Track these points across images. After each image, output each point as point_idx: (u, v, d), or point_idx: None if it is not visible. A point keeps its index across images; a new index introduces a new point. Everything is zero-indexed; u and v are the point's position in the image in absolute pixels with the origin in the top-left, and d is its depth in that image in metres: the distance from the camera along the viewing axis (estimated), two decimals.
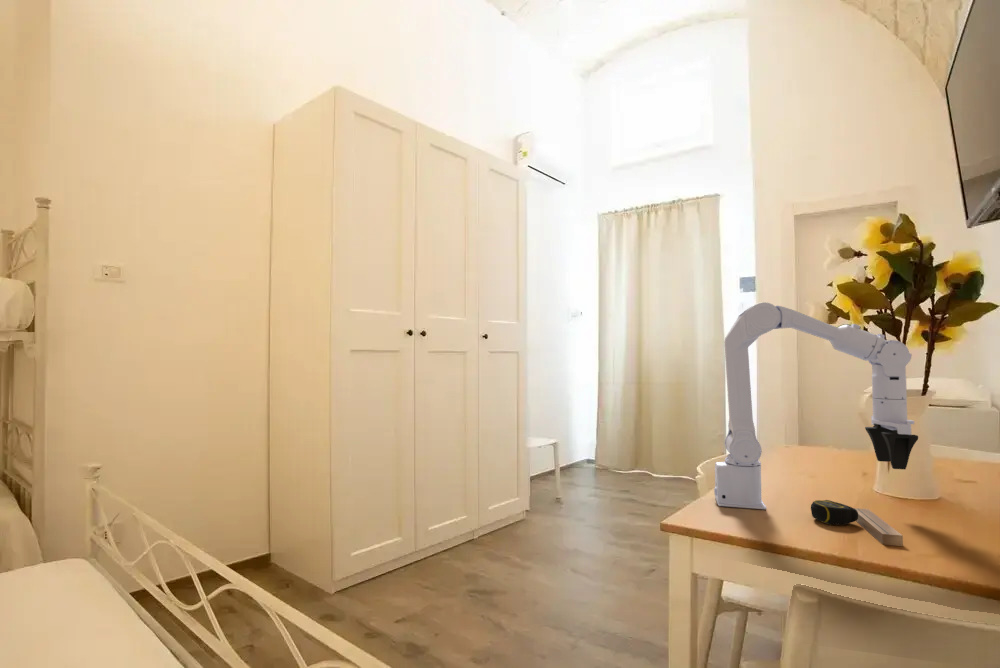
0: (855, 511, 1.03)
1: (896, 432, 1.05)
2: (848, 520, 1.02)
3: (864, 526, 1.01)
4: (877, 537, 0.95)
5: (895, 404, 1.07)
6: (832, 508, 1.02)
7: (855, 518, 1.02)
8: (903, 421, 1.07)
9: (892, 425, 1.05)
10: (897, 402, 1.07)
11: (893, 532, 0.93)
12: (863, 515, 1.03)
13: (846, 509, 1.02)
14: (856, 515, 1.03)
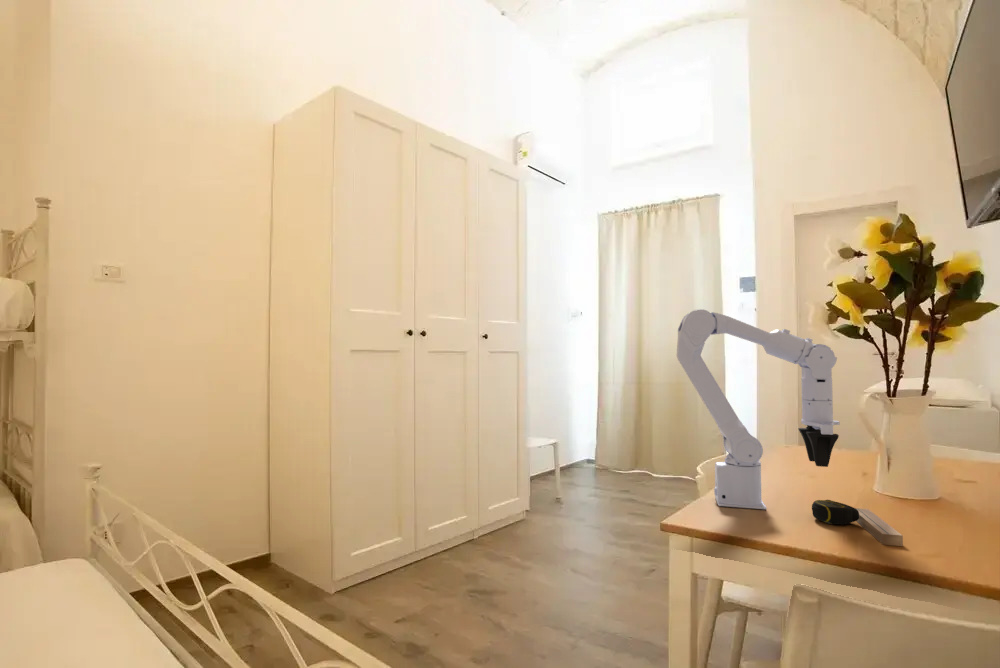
0: (856, 511, 1.03)
1: (818, 431, 1.11)
2: (849, 520, 1.02)
3: (864, 526, 1.01)
4: (877, 537, 0.95)
5: (821, 405, 1.12)
6: (833, 508, 1.02)
7: (856, 518, 1.03)
8: (828, 422, 1.12)
9: (816, 425, 1.10)
10: (822, 403, 1.12)
11: (893, 532, 0.93)
12: (863, 515, 1.03)
13: (847, 509, 1.02)
14: (857, 515, 1.03)
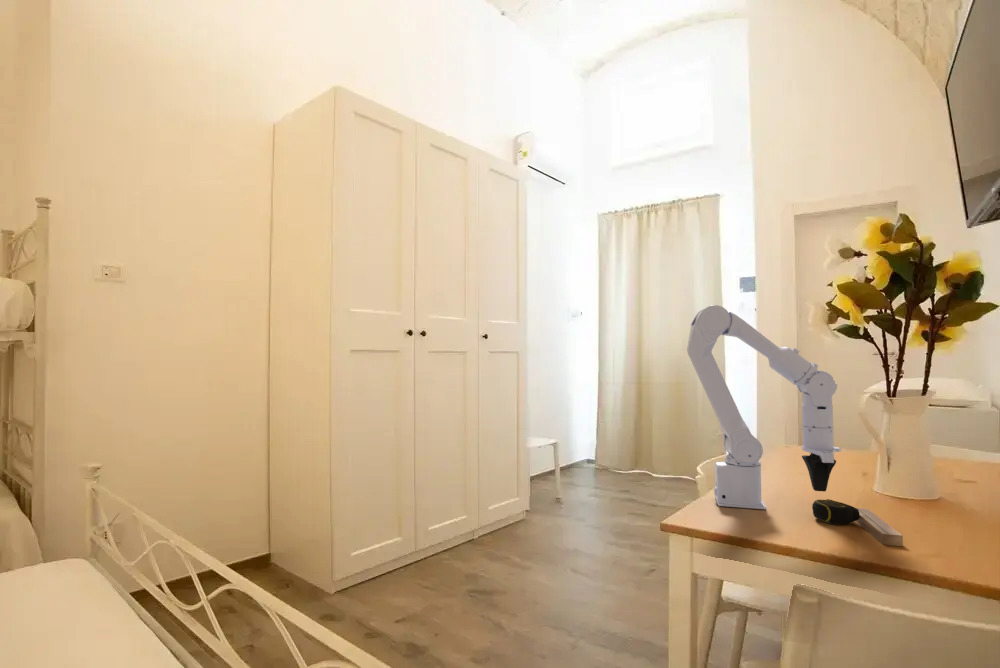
0: (856, 510, 1.03)
1: (816, 457, 1.13)
2: (849, 519, 1.02)
3: (864, 526, 1.01)
4: (877, 537, 0.95)
5: (821, 432, 1.12)
6: (833, 507, 1.03)
7: (856, 517, 1.03)
8: (829, 449, 1.12)
9: (817, 453, 1.10)
10: (823, 431, 1.12)
11: (893, 532, 0.93)
12: (863, 515, 1.03)
13: (847, 508, 1.02)
14: (857, 514, 1.03)
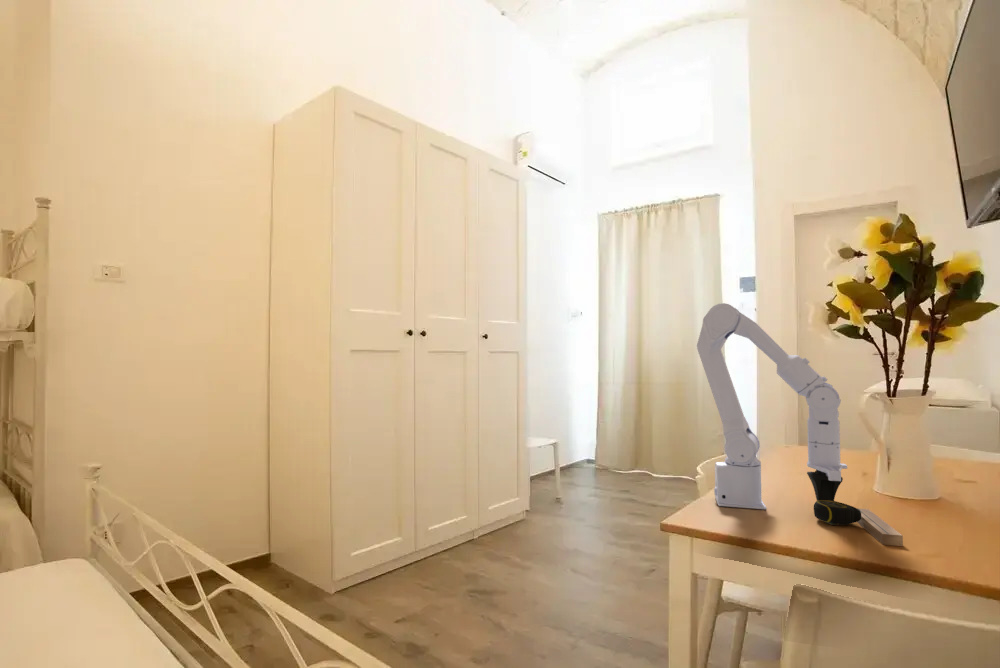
0: (858, 511, 1.02)
1: (822, 474, 1.09)
2: (851, 520, 1.01)
3: (864, 526, 1.01)
4: (877, 537, 0.95)
5: (828, 449, 1.08)
6: (834, 508, 1.02)
7: (858, 518, 1.02)
8: (836, 466, 1.07)
9: (824, 470, 1.06)
10: (830, 447, 1.08)
11: (893, 532, 0.93)
12: (863, 515, 1.03)
13: (849, 509, 1.01)
14: (859, 515, 1.02)
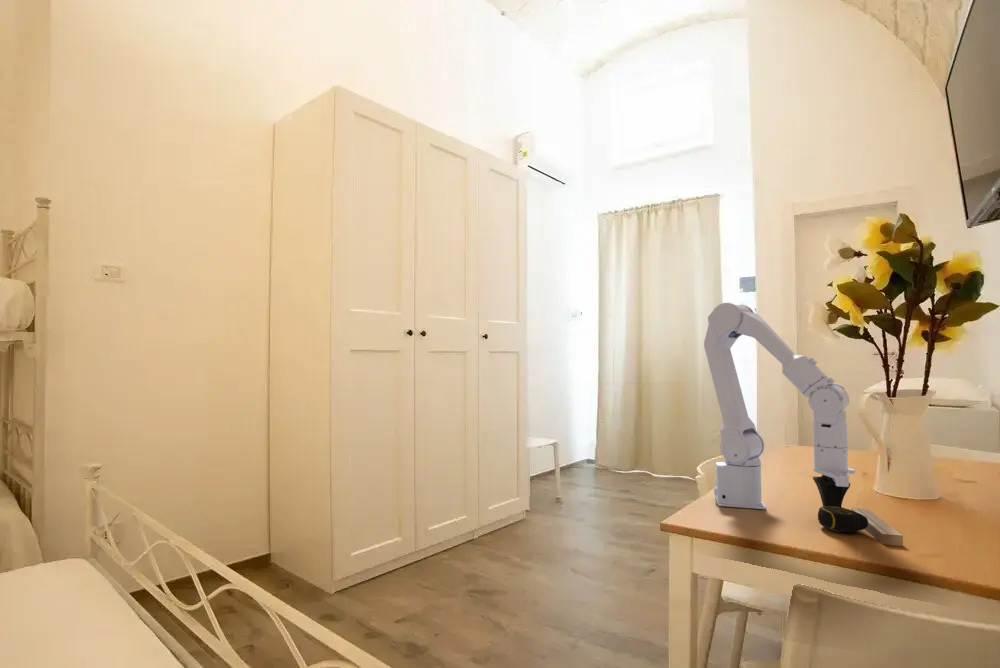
0: (864, 518, 0.98)
1: (829, 479, 1.04)
2: (856, 527, 0.97)
3: None
4: (877, 537, 0.95)
5: (835, 453, 1.03)
6: (838, 514, 0.98)
7: (864, 526, 0.97)
8: (843, 471, 1.03)
9: (830, 476, 1.01)
10: (837, 451, 1.03)
11: (893, 532, 0.93)
12: (863, 515, 1.03)
13: (854, 516, 0.97)
14: (865, 523, 0.97)
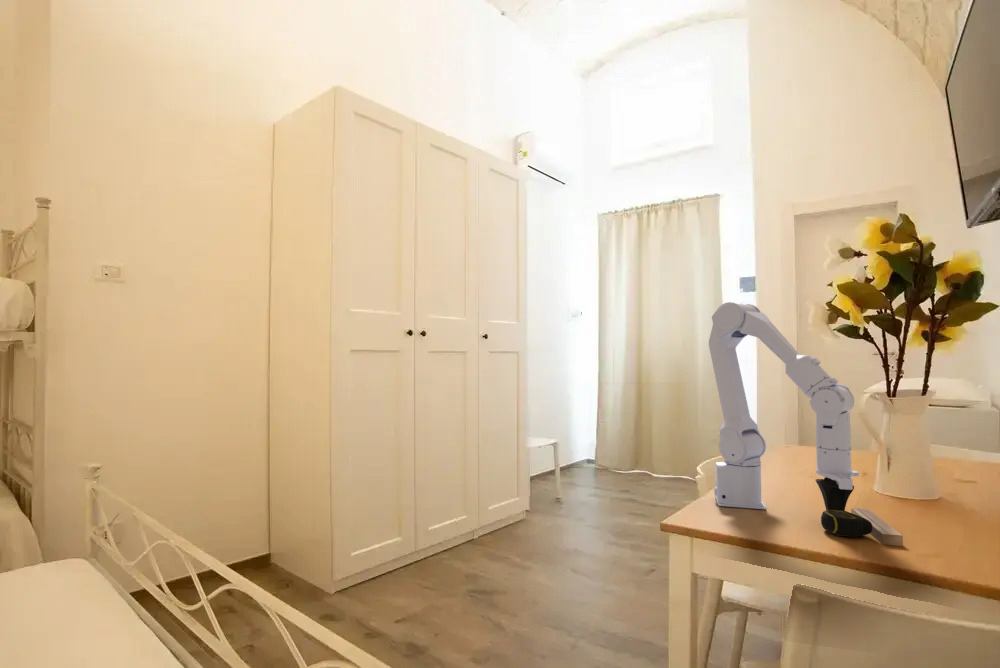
0: (868, 523, 0.95)
1: (832, 482, 1.02)
2: (859, 532, 0.95)
3: None
4: (877, 537, 0.95)
5: (838, 455, 1.01)
6: (840, 518, 0.96)
7: (868, 531, 0.95)
8: (846, 473, 1.01)
9: (834, 478, 0.99)
10: (840, 453, 1.01)
11: (893, 532, 0.93)
12: (863, 515, 1.03)
13: (857, 520, 0.95)
14: (869, 527, 0.95)
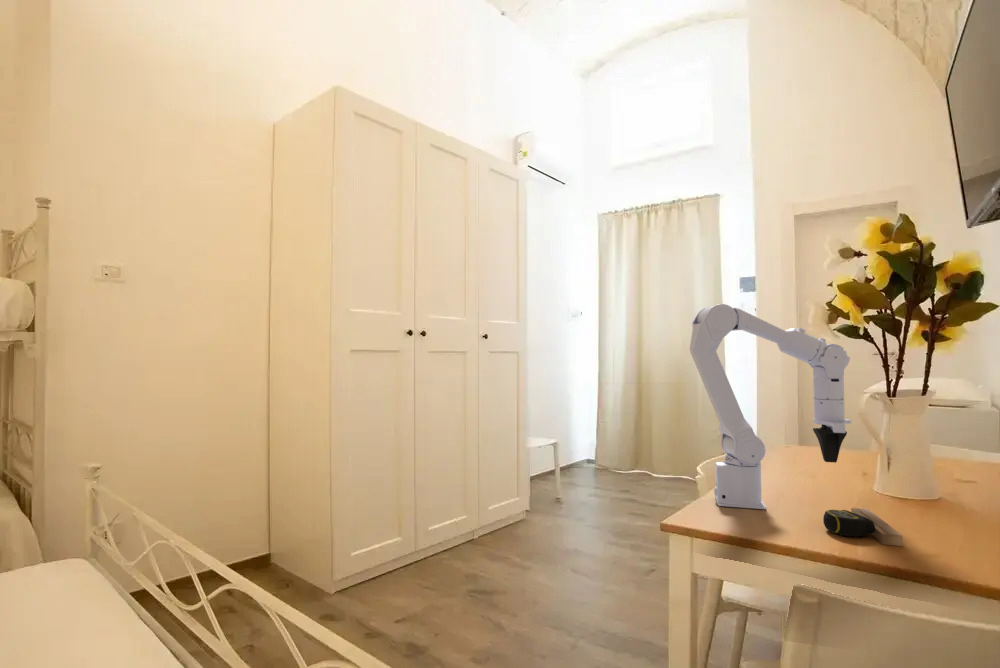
0: (871, 523, 0.96)
1: (827, 428, 1.15)
2: (861, 532, 0.95)
3: None
4: (877, 537, 0.95)
5: (833, 404, 1.14)
6: (843, 518, 0.96)
7: (870, 530, 0.95)
8: (840, 420, 1.14)
9: (829, 424, 1.12)
10: (834, 402, 1.14)
11: (893, 532, 0.93)
12: (863, 515, 1.03)
13: (859, 520, 0.95)
14: (872, 527, 0.95)
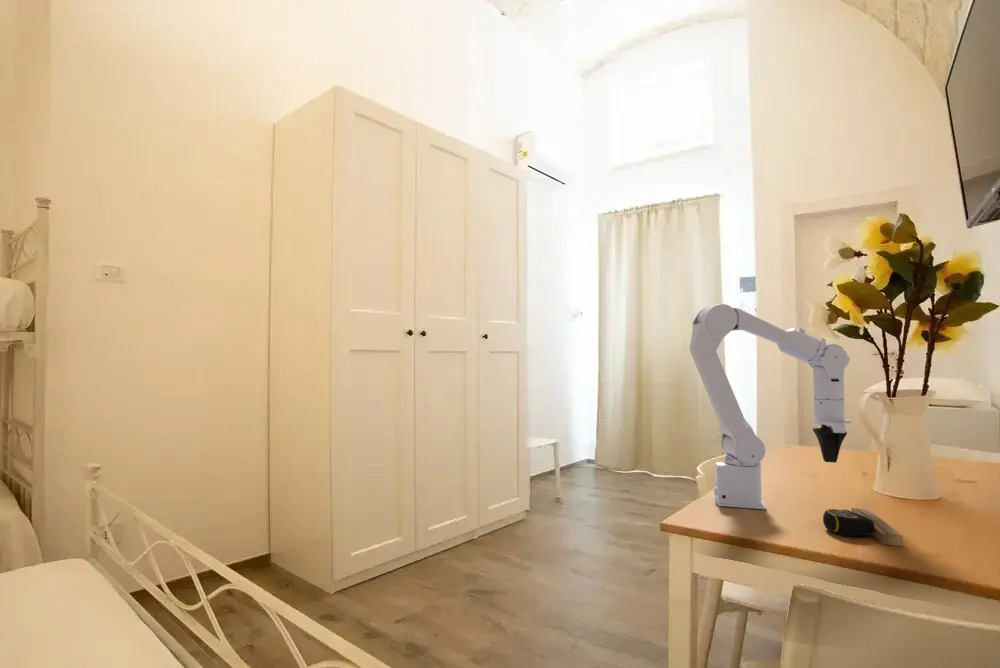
0: (870, 522, 0.96)
1: (827, 428, 1.15)
2: (860, 531, 0.96)
3: None
4: (877, 537, 0.95)
5: (833, 404, 1.14)
6: (842, 517, 0.97)
7: (870, 530, 0.96)
8: (840, 420, 1.14)
9: (829, 424, 1.12)
10: (834, 402, 1.14)
11: (893, 532, 0.93)
12: (863, 515, 1.03)
13: (858, 519, 0.96)
14: (871, 527, 0.96)
